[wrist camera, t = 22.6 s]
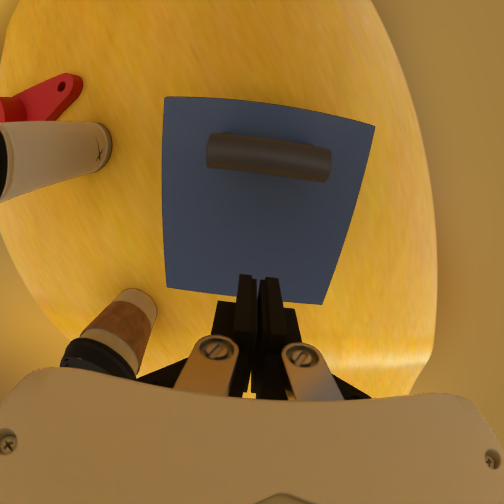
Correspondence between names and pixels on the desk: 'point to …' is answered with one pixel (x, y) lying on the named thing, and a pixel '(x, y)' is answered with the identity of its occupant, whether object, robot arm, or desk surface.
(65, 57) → the desk surface
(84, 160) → the travel mug
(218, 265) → the lid
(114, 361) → the coffee cup
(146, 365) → the desk surface
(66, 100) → the lever
